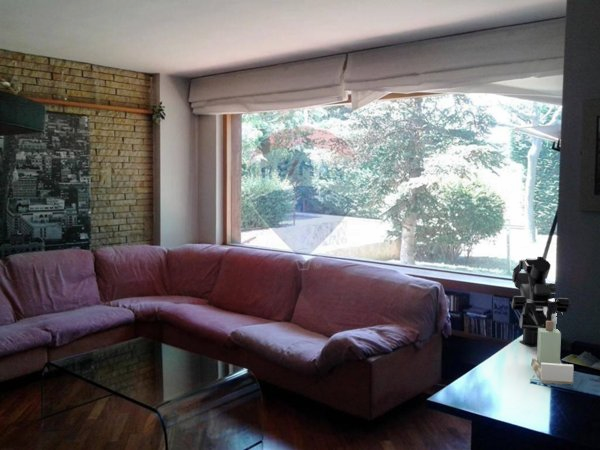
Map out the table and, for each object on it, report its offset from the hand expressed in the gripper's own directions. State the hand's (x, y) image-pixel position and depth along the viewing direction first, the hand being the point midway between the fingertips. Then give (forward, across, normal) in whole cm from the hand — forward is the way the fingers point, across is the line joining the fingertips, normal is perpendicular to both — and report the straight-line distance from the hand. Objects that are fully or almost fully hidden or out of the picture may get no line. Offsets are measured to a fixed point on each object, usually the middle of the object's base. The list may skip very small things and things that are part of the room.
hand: (543, 324), depth 187 cm
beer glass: (-13, +10, +31) cm, 35 cm away
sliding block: (+15, 0, +1) cm, 15 cm away
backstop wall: (+24, 0, -6) cm, 25 cm away
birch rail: (+19, 0, -1) cm, 19 cm away
